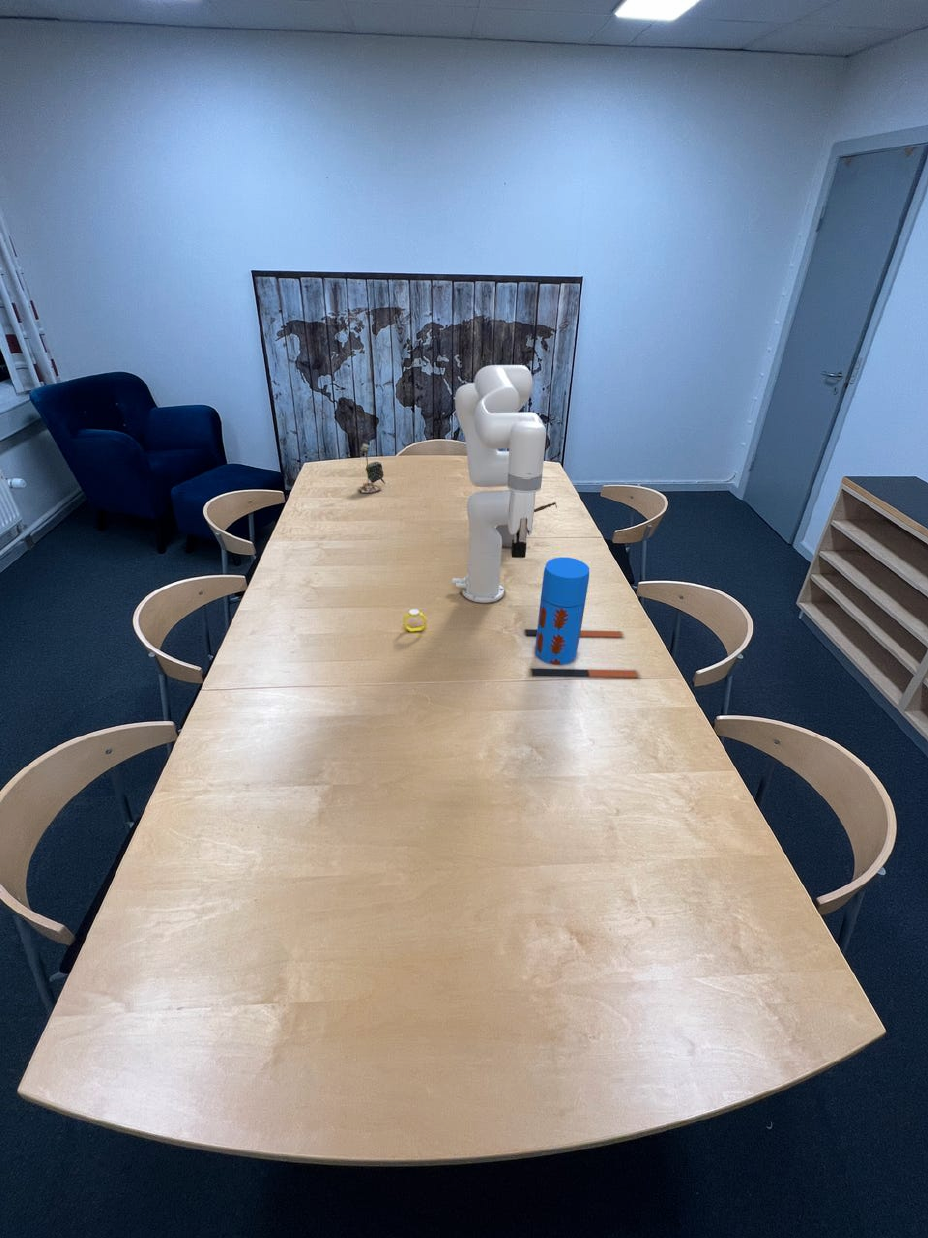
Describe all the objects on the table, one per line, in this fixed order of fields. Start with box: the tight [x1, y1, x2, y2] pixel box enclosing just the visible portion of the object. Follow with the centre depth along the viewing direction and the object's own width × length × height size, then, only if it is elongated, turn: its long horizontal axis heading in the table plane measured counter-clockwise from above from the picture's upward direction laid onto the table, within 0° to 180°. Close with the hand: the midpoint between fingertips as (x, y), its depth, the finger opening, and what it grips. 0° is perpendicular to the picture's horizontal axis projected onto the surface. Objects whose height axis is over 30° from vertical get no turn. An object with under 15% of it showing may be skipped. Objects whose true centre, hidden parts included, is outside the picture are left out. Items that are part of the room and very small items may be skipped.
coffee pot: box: [494, 501, 558, 549], centre depth 209 cm, size 21×12×15 cm, turn 95°
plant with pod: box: [358, 443, 386, 494], centre depth 246 cm, size 8×11×20 cm
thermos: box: [535, 556, 590, 666], centre depth 152 cm, size 11×11×25 cm
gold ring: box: [403, 608, 427, 632], centre depth 164 cm, size 6×3×6 cm, turn 95°
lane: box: [525, 628, 639, 679], centre depth 159 cm, size 26×20×1 cm
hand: (518, 556), depth 143 cm, fingers closed
